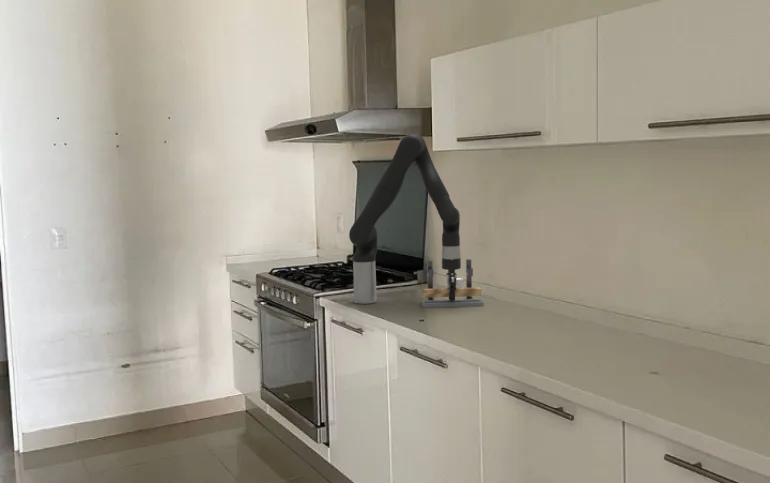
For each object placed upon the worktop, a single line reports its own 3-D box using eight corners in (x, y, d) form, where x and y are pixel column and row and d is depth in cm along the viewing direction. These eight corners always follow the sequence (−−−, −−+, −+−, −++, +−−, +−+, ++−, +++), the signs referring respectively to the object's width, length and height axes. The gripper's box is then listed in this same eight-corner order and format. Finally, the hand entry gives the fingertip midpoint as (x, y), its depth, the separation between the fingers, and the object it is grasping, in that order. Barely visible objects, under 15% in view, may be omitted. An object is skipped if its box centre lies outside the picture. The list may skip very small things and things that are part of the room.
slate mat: (422, 307, 301) (422, 304, 301) (421, 304, 309) (421, 300, 309) (483, 306, 301) (483, 302, 301) (480, 302, 309) (480, 298, 309)
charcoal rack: (427, 303, 309) (426, 262, 308) (426, 301, 315) (426, 260, 314) (474, 302, 309) (473, 261, 308) (472, 299, 316) (472, 259, 314)
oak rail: (423, 297, 303) (423, 290, 303) (423, 296, 306) (422, 288, 306) (481, 296, 304) (480, 288, 303) (480, 294, 307) (479, 287, 306)
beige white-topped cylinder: (466, 295, 327) (465, 279, 326) (450, 296, 325) (450, 280, 324) (460, 292, 333) (460, 277, 333) (446, 293, 332) (445, 277, 331)
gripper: (440, 255, 310) (441, 296, 312) (443, 259, 296) (443, 303, 298) (458, 254, 310) (459, 296, 312) (462, 259, 296) (463, 302, 298)
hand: (451, 299), depth 305 cm, fingers closed on oak rail, 3 cm apart
